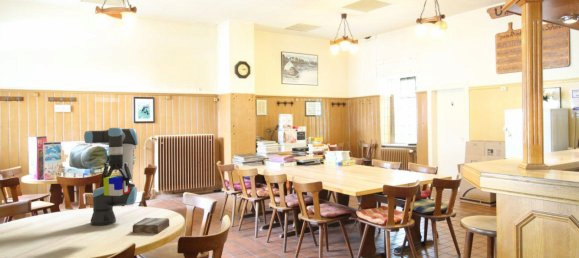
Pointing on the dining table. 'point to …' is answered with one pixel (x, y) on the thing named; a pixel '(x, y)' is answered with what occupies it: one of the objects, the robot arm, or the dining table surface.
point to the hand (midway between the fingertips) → (117, 191)
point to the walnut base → (151, 225)
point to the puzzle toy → (114, 186)
